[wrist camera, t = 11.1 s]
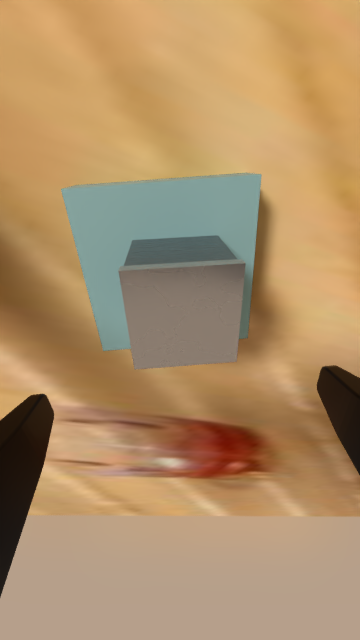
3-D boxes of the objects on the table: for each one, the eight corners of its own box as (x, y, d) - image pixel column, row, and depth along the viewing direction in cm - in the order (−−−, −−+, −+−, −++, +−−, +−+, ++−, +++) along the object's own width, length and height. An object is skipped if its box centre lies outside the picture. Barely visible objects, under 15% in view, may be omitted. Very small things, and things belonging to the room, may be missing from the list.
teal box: (110, 326, 23) (103, 351, 20) (78, 184, 17) (60, 189, 14) (236, 315, 23) (247, 338, 20) (244, 172, 18) (261, 174, 15)
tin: (140, 316, 19) (134, 369, 14) (130, 238, 16) (118, 271, 11) (216, 311, 19) (236, 361, 14) (219, 233, 16) (245, 263, 11)
